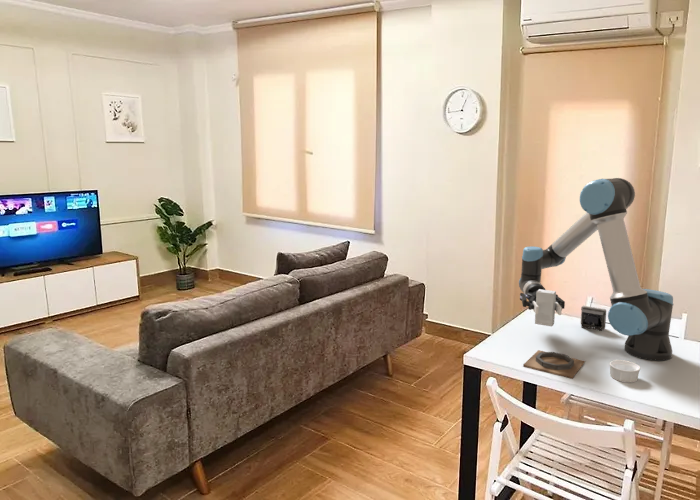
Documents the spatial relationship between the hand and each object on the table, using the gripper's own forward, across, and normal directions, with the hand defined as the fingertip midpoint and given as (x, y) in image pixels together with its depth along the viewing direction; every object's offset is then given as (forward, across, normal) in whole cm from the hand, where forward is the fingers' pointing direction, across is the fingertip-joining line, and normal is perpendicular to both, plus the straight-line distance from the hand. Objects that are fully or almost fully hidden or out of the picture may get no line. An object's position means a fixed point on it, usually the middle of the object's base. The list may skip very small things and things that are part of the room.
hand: (548, 310), depth 184 cm
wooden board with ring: (+4, -2, -18) cm, 18 cm away
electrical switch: (-36, -26, -18) cm, 48 cm away
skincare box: (-5, 0, -7) cm, 8 cm away
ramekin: (+11, -22, -18) cm, 31 cm away
